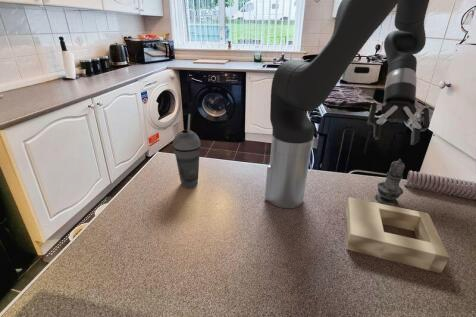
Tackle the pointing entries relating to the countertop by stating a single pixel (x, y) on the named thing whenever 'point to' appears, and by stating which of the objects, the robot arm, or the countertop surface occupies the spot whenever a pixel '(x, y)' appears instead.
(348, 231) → the jig
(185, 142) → the beverage cup
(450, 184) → the coil
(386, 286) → the countertop surface
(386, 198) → the grey tall knobbed piece
